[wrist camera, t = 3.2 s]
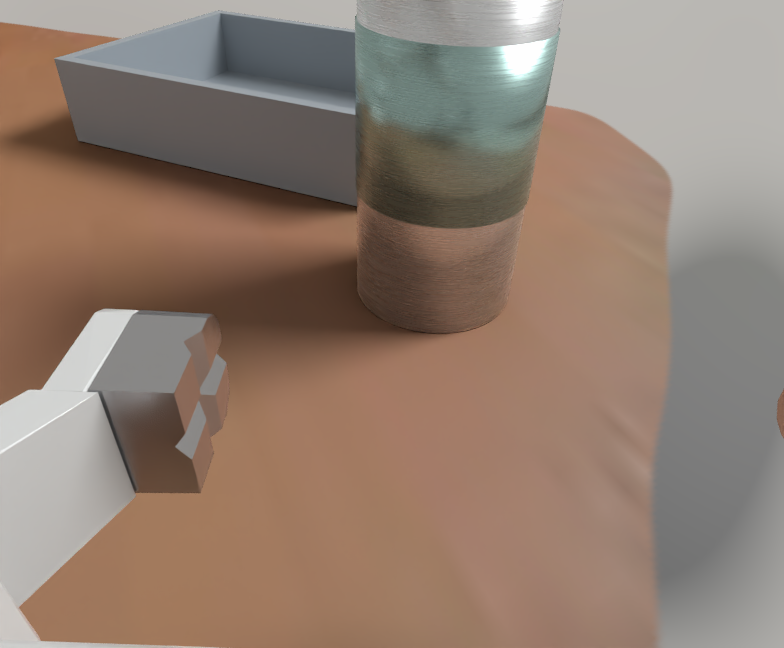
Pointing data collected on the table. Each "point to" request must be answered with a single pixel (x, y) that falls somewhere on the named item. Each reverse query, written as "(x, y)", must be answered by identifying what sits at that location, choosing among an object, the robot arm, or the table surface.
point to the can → (446, 152)
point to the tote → (226, 99)
